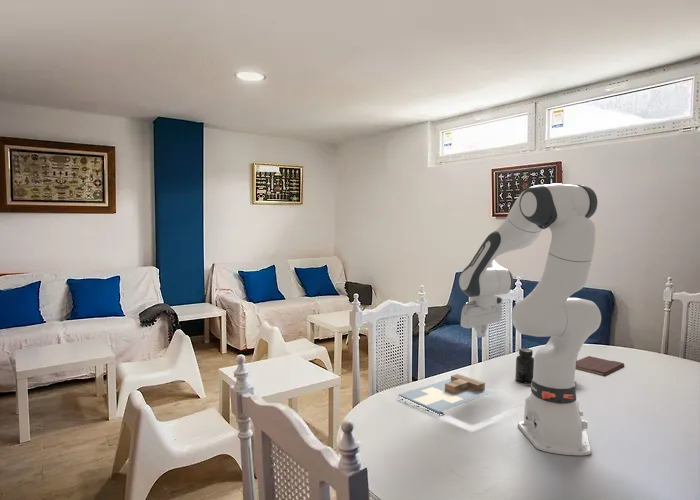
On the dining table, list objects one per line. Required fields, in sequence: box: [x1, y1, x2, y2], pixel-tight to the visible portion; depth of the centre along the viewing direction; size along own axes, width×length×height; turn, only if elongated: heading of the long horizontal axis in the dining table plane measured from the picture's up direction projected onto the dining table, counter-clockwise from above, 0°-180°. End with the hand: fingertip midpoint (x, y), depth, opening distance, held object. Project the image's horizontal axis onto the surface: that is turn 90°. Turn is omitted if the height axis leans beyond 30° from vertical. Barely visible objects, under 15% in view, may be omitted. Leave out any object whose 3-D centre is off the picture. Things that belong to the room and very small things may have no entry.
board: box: [398, 377, 493, 415], centre depth 161 cm, size 28×18×2 cm, turn 128°
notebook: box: [575, 355, 625, 377], centre depth 198 cm, size 15×20×2 cm
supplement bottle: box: [515, 347, 534, 384], centre depth 179 cm, size 7×7×12 cm
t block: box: [445, 373, 486, 394], centre depth 166 cm, size 12×12×2 cm
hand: (480, 336), depth 172 cm, fingers closed
